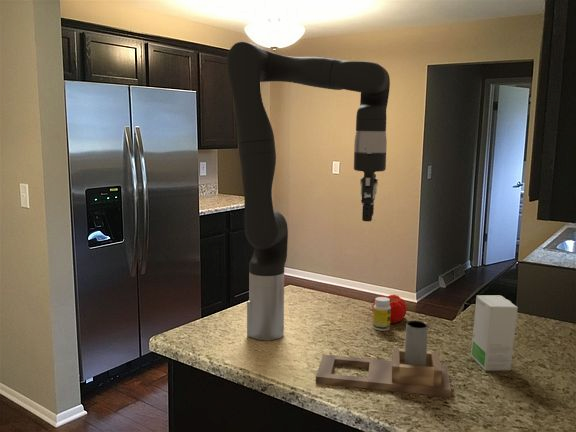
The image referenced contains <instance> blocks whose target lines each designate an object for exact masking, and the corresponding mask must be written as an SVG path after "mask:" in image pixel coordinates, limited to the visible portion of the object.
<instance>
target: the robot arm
mask: <svg viewBox="0 0 576 432" xmlns="http://www.w3.org/2000/svg"><path fill="white" fill-rule="evenodd" d="M226 69H227V73H228V78H229V83H230V87H231V92H232V96H233V97H232V98H233V103H234V113H235V114H234V115H235V122H236V123H235V125H236V133H237V143H238V144H237V146H238V153H239V154H238V156H239V162H240V168H241V169H240V170H241V179H242V186H243V195H244V196H243V198H244V233H245V237H246V239H247V241H248V243H249V244H250V245H251V246H252V247H253V248H254V250H253V254H252V257H251V259H250V261H249V264H248V268H249V270H248V271H249V275H248V276H249V277H248V278H249V279H248V281H249V282H248V283H249V285H248V287H249V288H248V289H249V291H248V292H249V293H248V294H249V295H248V297H249V299H248V301H246V337H247V338H252V339H255V340H259V341H274V340H275V341H276V340H278V339H281V338H282V337H283V336H284V333H285V326H284V325H285V266H286V261H287V260H288V259H287V258H288V243H289V242H288V237H289V234H288V233H289V228H288V223H287V220H286V218H285V216H284V215H283V214H282V213H281V212H279V211H277V210H274V206H273V205H274V204H273V194H272V192H273V191H272V190H273V182H274V177H275V173H276V164H277V153H276V143H275V142H276V141H275V136H274V135H275V134H274V130H273V127H272V124H271V121H270V119H269V118H270V117H269V116H268V113H267V111H266V109H265V106H264V103H263V98H262V91H261V89H262V88H261V83H266V82H267V83H268V82H284V83H285V82H286V83H293V84H299V85H303V86H308V87H313V88H321V89H325V90H334V91H342V90H344V91H345V90H346V91H350V92H355V93H356V92H357V93H360V99H359V101H360V103H359V107H358V109H357V111H356V118H355V119H356V120H355V135H354V136H355V137H354V145H353V146H354V147H353V148H354V151H353V152H354V153H353V170H354V171H357V172H362V173H363V177H361V178H360V181H359V182H360V183H359V185H360V197H361V199H360V200H361V201H360V202H361V205H362V212H361V213H362V214H361V215H362V216H361V217H362V218H361V219H362V221H363V222H369V223H370V222H372V221H373V216H374V206H375V204H374V203H375V200H376V196H377V191H378V190H377V187H378V182H379V178H377V175H376V172H385V171H386V169H387V165H386V164H387V144H388V143H387V140H388V139H387V108H388V103H389V95H390V86H391V85H390V84H391V79H390V75H389V72H388V71H387V70H386V68H384V67H383V66H382V65H380V64H379V63H376V62H373V61H364V60H363V61H362V60H343V59H337V58H331V57H328V58H327V57H322V56H321V57H319V56H288V55H284V54H278V53H276V52H272V51H269V50H266V49H263V48H262V47H261V46H259V45H258V44H254V43H252V42H248V41H239V42H235V43H234V44H233V45H232V46H231V47H230V49H229V51H228V53H227V57H226Z"/></svg>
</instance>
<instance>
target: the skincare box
mask: <svg viewBox="0 0 576 432" xmlns="http://www.w3.org/2000/svg"><path fill="white" fill-rule="evenodd" d="M518 309H519V307H518V306H517V305H515V304H514V303H512V301H511V300H509V299H506V298H505V297H504V296H502V295H498V294H497V295H491V294H490V295H487V294H486V295H476V298H475V309H474V310H475V311H474V320H473V321H474V322H473V331H472V340H471V351H470V356H471V358H472V359H473V360H474V361H475V362H476V363H477V364H478V366H480V367H481V368H482V369H483V370H484V371H485V372H491V371H494V372H496V371H497V372H498V371H511V369H512V362H513V360H512V359H513V352H514V351H513V350H514V343H515V342H514V341H515V335H516V334H515V333H516V326H517V317H518V311H519V310H518Z"/></svg>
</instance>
